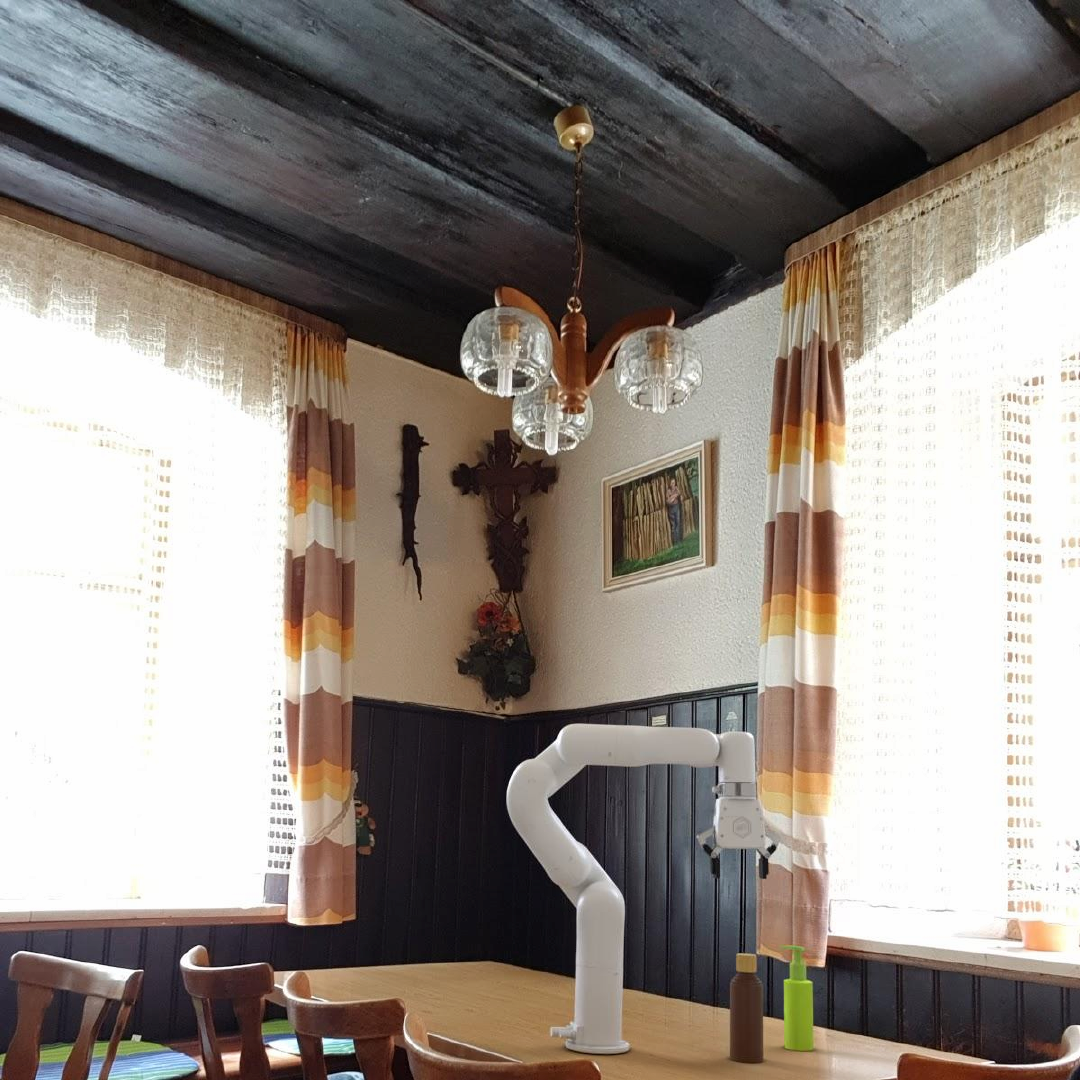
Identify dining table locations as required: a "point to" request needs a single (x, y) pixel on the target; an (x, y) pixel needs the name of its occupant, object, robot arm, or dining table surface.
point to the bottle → (746, 1018)
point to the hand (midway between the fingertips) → (739, 878)
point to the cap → (746, 962)
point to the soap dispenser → (798, 1005)
